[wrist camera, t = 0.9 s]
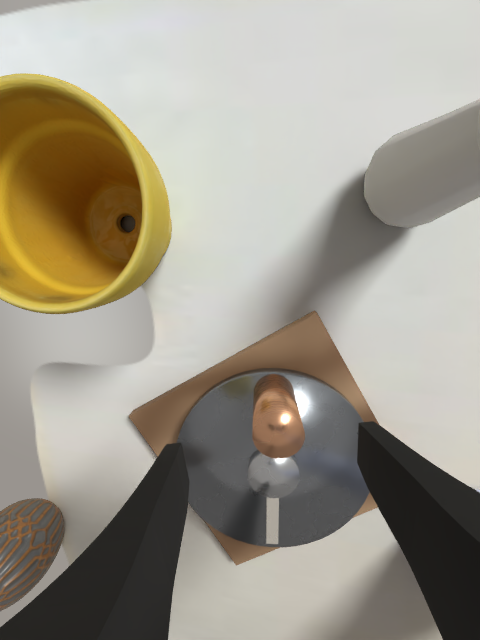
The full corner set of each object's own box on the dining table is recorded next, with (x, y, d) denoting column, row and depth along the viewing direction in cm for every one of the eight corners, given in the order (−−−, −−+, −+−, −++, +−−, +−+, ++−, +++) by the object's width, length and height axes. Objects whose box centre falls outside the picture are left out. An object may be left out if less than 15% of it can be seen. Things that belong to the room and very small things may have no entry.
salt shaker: (344, 223, 21) (468, 178, 9) (364, 137, 20) (543, -61, 7) (423, 236, 21) (665, 209, 9) (448, 150, 20) (777, -29, 7)
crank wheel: (362, 538, 26) (396, 632, 19) (184, 530, 27) (160, 617, 20) (377, 368, 22) (426, 414, 16) (172, 367, 23) (139, 409, 17)
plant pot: (123, 118, 21) (10, 3, 11) (224, 226, 22) (198, 204, 12) (39, 224, 23) (-117, 201, 13) (136, 317, 24) (55, 358, 15)
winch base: (410, 482, 26) (416, 491, 25) (237, 554, 29) (236, 565, 28) (314, 310, 23) (317, 312, 22) (133, 410, 26) (128, 416, 25)
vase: (67, 483, 28) (-17, 583, 20) (83, 541, 30) (13, 657, 21) (1, 487, 29) (-107, 585, 20) (21, 544, 30) (-72, 657, 22)
